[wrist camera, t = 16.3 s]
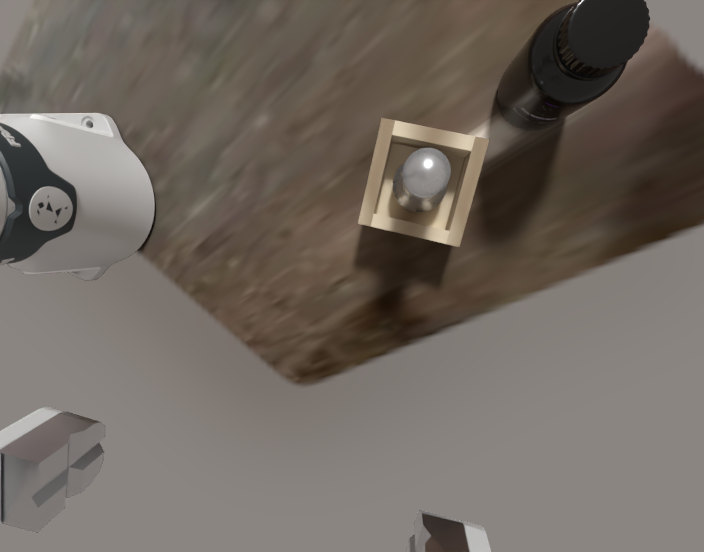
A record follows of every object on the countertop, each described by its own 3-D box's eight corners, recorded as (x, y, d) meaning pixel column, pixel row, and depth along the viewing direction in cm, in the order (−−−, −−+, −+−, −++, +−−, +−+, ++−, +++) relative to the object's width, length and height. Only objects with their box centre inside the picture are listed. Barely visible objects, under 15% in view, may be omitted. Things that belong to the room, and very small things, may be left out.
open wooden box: (363, 223, 37) (358, 223, 33) (384, 130, 36) (381, 117, 31) (452, 243, 37) (459, 247, 32) (478, 149, 35) (489, 139, 30)
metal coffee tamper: (387, 206, 36) (382, 200, 25) (400, 155, 35) (399, 126, 24) (437, 217, 35) (452, 216, 25) (450, 166, 34) (473, 141, 24)
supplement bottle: (505, 142, 34) (560, 102, 23) (487, 70, 34) (534, -9, 22) (581, 117, 33) (679, 61, 22) (564, 42, 33) (656, -58, 21)
